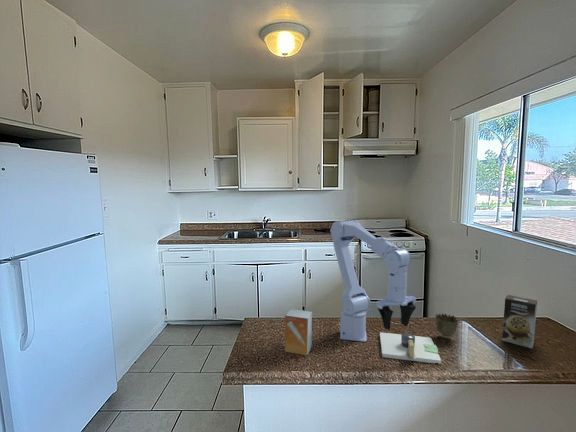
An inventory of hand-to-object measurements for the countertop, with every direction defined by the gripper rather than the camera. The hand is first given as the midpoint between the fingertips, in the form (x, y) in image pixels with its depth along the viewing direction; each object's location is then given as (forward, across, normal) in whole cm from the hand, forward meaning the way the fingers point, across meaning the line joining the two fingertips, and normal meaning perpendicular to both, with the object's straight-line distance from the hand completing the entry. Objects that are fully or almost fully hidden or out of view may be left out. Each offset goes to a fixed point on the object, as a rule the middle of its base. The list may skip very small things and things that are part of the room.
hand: (395, 326), depth 103 cm
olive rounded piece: (+11, +27, +4) cm, 30 cm away
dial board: (+10, +8, +3) cm, 13 cm away
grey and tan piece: (+9, +6, 0) cm, 11 cm away
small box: (+11, -28, +16) cm, 34 cm away
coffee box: (+11, +50, -8) cm, 51 cm away
